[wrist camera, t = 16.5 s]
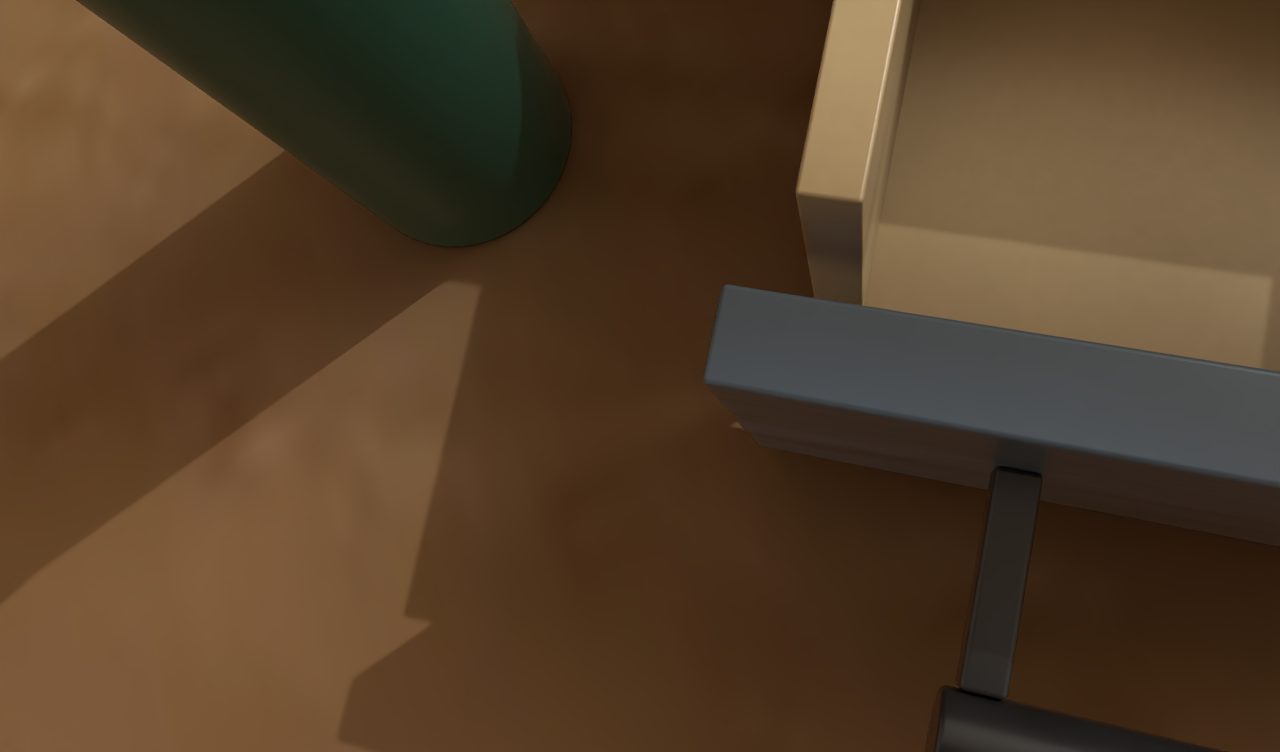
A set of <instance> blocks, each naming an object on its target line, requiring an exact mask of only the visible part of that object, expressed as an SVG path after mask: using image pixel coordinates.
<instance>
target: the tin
mask: <svg viewBox="0 0 1280 752" xmlns="http://www.w3.org/2000/svg"><path fill="white" fill-rule="evenodd" d="M76 1H78V2H79V3H81V4H82V5H83V6H85V7H86V8H88V9H89V10H90V11H92V12H93V13H95V14H96V15H97V16H99V17H100V18H102V19H103V20H104V21H106V22H107V23H108V24H110V25H111V26H113V27H114V28H115V29H117V30H118V31H120V32H121V33H122V34H124V35H125V36H127V37H128V38H129V39H131V40H132V41H134V42H135V43H136V44H138V45H139V46H141V47H142V48H143V49H145V50H146V51H148V52H149V53H150V54H152V55H153V56H155V57H156V58H157V59H159V60H160V61H162V62H163V63H164V64H166V65H167V66H169V67H170V68H171V69H173V70H174V71H176V72H177V73H178V74H180V75H181V76H183V77H184V78H185V79H187V80H188V81H190V82H191V83H192V84H194V85H195V86H197V87H198V88H199V89H201V90H202V91H204V92H205V93H206V94H208V95H209V96H211V97H212V98H213V99H215V100H216V101H218V102H219V103H220V104H222V105H223V106H225V107H226V108H227V109H229V110H230V111H232V112H233V113H234V114H236V115H237V116H239V117H240V118H241V119H243V120H244V121H246V122H247V123H248V124H250V125H251V126H253V127H254V128H255V129H257V130H258V131H260V132H261V133H262V134H264V135H265V136H267V137H268V138H269V139H271V140H272V141H274V142H275V143H276V144H278V145H279V146H281V147H282V148H283V149H285V150H286V151H288V152H289V153H290V154H292V155H293V156H295V157H296V158H297V159H299V160H300V161H302V162H303V163H304V164H306V165H307V166H309V167H310V168H311V169H313V170H314V171H316V172H317V173H318V174H320V175H321V176H323V177H324V178H325V179H327V180H328V181H330V182H331V183H332V184H334V185H335V186H337V187H338V188H339V189H341V190H342V191H344V192H345V193H346V194H348V195H349V196H351V197H352V198H353V199H355V200H356V201H358V202H359V203H360V204H362V205H363V206H365V207H366V208H367V209H369V210H370V211H372V212H373V213H374V214H376V215H377V216H379V217H380V218H381V219H383V220H384V221H385V222H387V223H388V224H390V225H391V226H393V227H394V228H395V229H397V230H398V231H400V232H401V233H403V234H405V235H407V236H409V237H411V238H413V239H415V240H418V241H421V242H424V243H427V244H432V245H437V246H448V247H458V246H469V245H473V244H478V243H482V242H486V241H488V240H491V239H494V238H497V237H499V236H501V235H503V234H505V233H507V232H509V231H511V230H512V229H514V228H515V227H517V226H518V225H520V224H521V223H523V222H524V221H525V220H526V219H527V218H529V217H530V216H531V215H532V214H533V213H534V212H535V211H536V210H537V209H538V208H539V207H540V206H541V205H542V204H543V203H544V201H545V200H546V199H547V197H548V196H549V194H550V193H551V192H552V190H553V189H554V187H555V185H556V183H557V181H558V180H559V178H560V176H561V173H562V171H563V168H564V166H565V163H566V160H567V156H568V152H569V148H570V141H571V133H572V130H571V113H570V106H569V102H568V99H567V96H566V92H565V90H564V88H563V85H562V83H561V81H560V79H559V77H558V76H557V74H556V73H555V71H554V69H553V68H552V66H551V65H550V63H549V61H548V60H547V58H546V57H545V55H544V53H543V52H542V50H541V49H540V47H539V45H538V44H537V42H536V41H535V39H534V37H533V36H532V34H531V33H530V31H529V29H528V28H527V26H526V25H525V23H524V22H523V20H522V18H521V17H520V15H519V14H518V12H517V10H516V9H515V7H514V6H513V4H512V2H511V1H510V0H76Z"/></svg>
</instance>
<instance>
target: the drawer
mask: <svg viewBox="0 0 1280 752" xmlns="http://www.w3.org/2000/svg"><path fill="white" fill-rule="evenodd" d="M795 192H796V198H797V204H798V209H799V215H800V220H801V226H802V232H803V237H804V243H805V248H806V254H807V260H808V265H809V271H810V276H811V282H812V287H813V293H814V298H813V297H806V296H800V295H794V294H787V293H781V292H775V291H769V290H762V289H756V288H750V287H743V286H737V285H731V284H727V285H723V287H722V288H721V291H720V296H719V301H718V306H717V311H716V316H715V320H714V325H713V330H712V335H711V340H710V345H709V349H708V354H707V359H706V364H705V369H704V374H703V382H704V384H705V385H706V386H707V387H708V388H709V389H710V391H711V392H712V393H713V394H714V395H715V396H716V397H717V398H718V400H719V401H720V402H721V403H722V404H723V405H724V406H725V408H726V409H727V410H728V411H729V412H730V413H731V414H732V415H733V417H734V418H735V419H736V420H737V421H738V422H739V423H740V425H741V426H742V427H743V428H744V429H745V430H746V431H747V432H748V434H749V435H750V436H751V437H752V438H753V439H754V440H755V442H756V443H757V444H758V445H760V446H762V447H767V448H773V449H778V450H783V451H788V452H793V453H798V454H804V455H809V456H814V457H819V458H824V459H829V460H835V461H840V462H845V463H850V464H855V465H860V466H866V467H871V468H876V469H881V470H886V471H891V472H897V473H902V474H907V475H912V476H917V477H922V478H928V479H933V480H938V481H943V482H948V483H953V484H959V485H964V486H969V487H974V488H979V489H984V490H988V492H987V498H986V504H985V510H984V516H983V522H982V528H981V534H980V540H979V546H978V552H977V557H976V563H975V569H974V575H973V581H972V587H971V593H970V599H969V605H968V611H967V617H966V623H965V629H964V634H963V640H962V646H961V652H960V658H959V664H958V670H957V676H956V683H957V685H958V687H959V688H956V687H952V686H948V685H945V686H941V687H940V689H939V690H938V692H937V694H936V698H935V701H934V705H933V709H932V714H931V719H930V724H929V730H928V735H927V742H926V749H925V752H1226V751H1222V750H1218V749H1213V748H1209V747H1205V746H1201V745H1197V744H1192V743H1188V742H1184V741H1180V740H1175V739H1171V738H1167V737H1163V736H1159V735H1154V734H1150V733H1146V732H1142V731H1138V730H1133V729H1129V728H1125V727H1121V726H1116V725H1112V724H1108V723H1104V722H1100V721H1095V720H1091V719H1087V718H1083V717H1078V716H1074V715H1070V714H1066V713H1062V712H1057V711H1053V710H1049V709H1045V708H1040V707H1036V706H1032V705H1028V704H1024V703H1019V702H1015V701H1011V700H1007V699H1006V698H1007V696H1008V692H1009V686H1010V680H1011V674H1012V668H1013V662H1014V655H1015V649H1016V643H1017V637H1018V631H1019V625H1020V618H1021V612H1022V606H1023V600H1024V594H1025V588H1026V581H1027V575H1028V569H1029V563H1030V557H1031V551H1032V545H1033V538H1034V532H1035V526H1036V520H1037V514H1038V508H1039V501H1040V500H1041V501H1046V502H1052V503H1057V504H1062V505H1067V506H1072V507H1077V508H1083V509H1088V510H1093V511H1098V512H1103V513H1108V514H1114V515H1119V516H1124V517H1129V518H1134V519H1139V520H1145V521H1150V522H1155V523H1160V524H1165V525H1170V526H1176V527H1181V528H1186V529H1191V530H1196V531H1201V532H1207V533H1212V534H1217V535H1222V536H1227V537H1233V538H1238V539H1243V540H1248V541H1253V542H1258V543H1264V544H1269V545H1274V546H1279V547H1280V0H833V4H832V9H831V14H830V19H829V24H828V29H827V34H826V39H825V44H824V49H823V54H822V59H821V64H820V69H819V74H818V79H817V84H816V89H815V94H814V99H813V104H812V109H811V114H810V119H809V124H808V129H807V134H806V139H805V144H804V149H803V154H802V159H801V164H800V169H799V174H798V179H797V184H796V189H795Z"/></svg>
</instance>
